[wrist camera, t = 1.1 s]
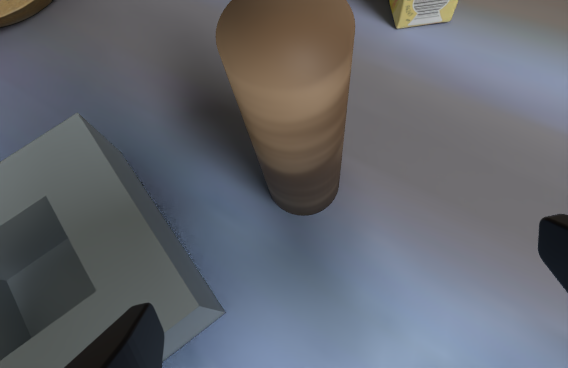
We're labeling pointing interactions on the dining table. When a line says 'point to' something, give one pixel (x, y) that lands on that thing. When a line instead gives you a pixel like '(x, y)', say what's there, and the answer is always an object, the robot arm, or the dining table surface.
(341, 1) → the walnut peg
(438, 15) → the candy box
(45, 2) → the plant saucer
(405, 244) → the dining table surface
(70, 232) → the socket block
